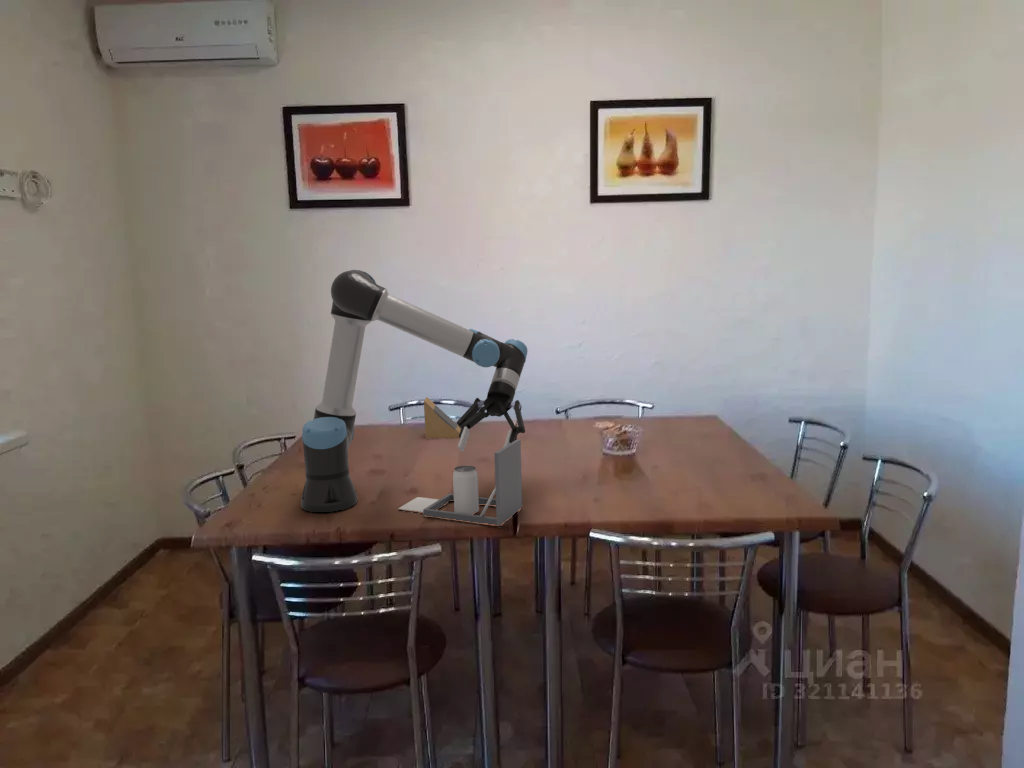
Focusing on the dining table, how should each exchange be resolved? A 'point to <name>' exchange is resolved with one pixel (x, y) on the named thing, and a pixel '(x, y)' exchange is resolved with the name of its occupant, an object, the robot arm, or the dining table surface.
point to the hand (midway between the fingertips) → (482, 451)
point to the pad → (418, 504)
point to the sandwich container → (438, 422)
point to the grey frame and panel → (506, 490)
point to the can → (465, 489)
